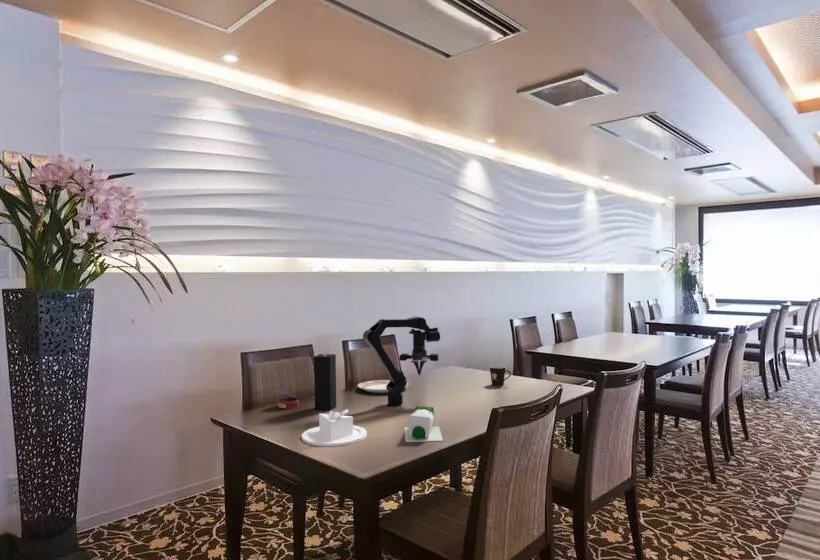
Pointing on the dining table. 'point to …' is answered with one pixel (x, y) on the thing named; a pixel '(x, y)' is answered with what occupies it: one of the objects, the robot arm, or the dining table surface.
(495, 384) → the coffee mug
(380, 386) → the dinner plate
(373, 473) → the dining table surface
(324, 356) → the tall black box
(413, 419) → the milk carton
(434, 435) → the placemat
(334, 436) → the dish
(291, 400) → the canned food
